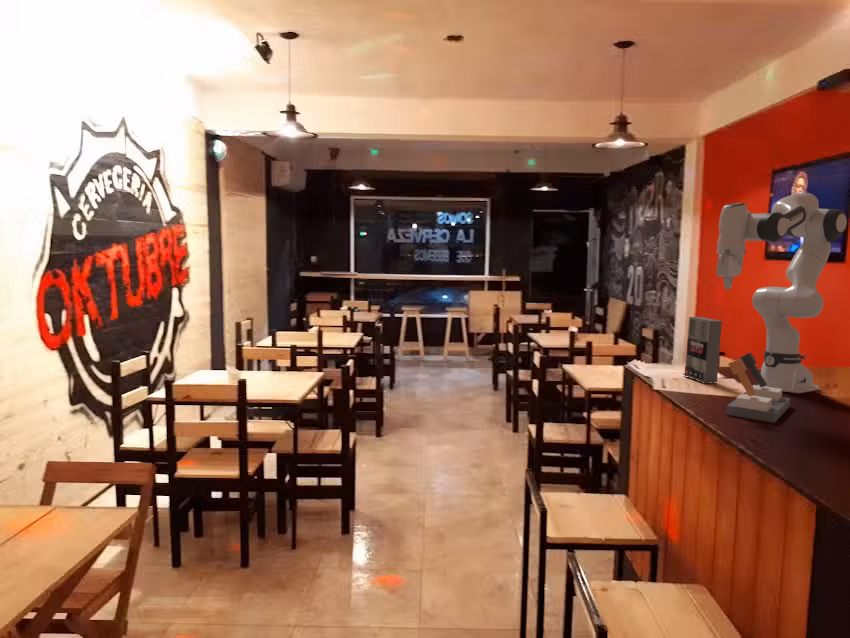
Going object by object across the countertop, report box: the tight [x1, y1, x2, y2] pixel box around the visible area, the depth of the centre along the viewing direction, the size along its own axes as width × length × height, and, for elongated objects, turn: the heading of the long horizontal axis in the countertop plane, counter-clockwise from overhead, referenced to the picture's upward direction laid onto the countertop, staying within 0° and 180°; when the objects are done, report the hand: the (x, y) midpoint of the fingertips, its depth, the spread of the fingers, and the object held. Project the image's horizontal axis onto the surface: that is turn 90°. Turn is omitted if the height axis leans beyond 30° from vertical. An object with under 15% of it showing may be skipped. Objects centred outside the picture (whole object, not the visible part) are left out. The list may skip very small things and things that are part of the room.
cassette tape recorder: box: [683, 316, 723, 384], centre depth 260 cm, size 14×6×25 cm, turn 12°
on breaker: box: [738, 352, 767, 387], centre depth 223 cm, size 3×4×12 cm
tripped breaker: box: [728, 357, 756, 397], centre depth 209 cm, size 3×4×12 cm
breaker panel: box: [725, 384, 791, 424], centre depth 214 cm, size 26×14×6 cm, turn 142°
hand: (727, 289), depth 228 cm, fingers closed
